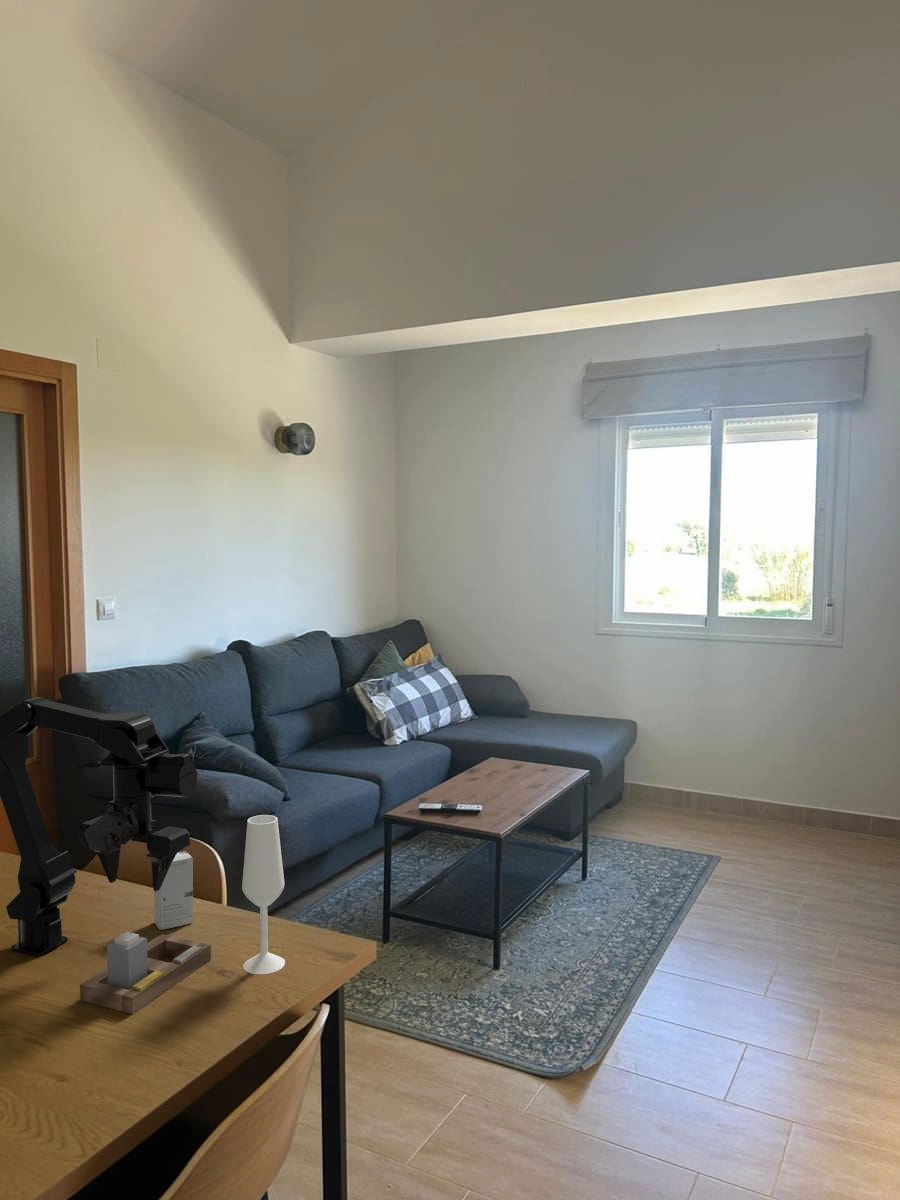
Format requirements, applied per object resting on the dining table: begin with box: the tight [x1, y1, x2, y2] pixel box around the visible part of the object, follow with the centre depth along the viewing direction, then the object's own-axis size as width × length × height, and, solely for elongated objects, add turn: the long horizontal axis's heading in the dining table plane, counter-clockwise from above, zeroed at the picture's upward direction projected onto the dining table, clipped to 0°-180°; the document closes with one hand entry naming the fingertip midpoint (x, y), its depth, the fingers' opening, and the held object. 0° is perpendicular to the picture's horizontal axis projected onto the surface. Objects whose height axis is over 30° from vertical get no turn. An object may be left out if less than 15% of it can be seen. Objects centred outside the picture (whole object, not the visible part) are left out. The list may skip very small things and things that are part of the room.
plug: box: [106, 931, 148, 990], centre depth 133 cm, size 4×4×9 cm
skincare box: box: [153, 851, 194, 931], centre depth 157 cm, size 6×4×12 cm
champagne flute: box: [241, 814, 286, 975], centre depth 141 cm, size 7×7×24 cm
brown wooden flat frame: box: [79, 934, 212, 1015], centre depth 137 cm, size 10×18×3 cm, turn 158°
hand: (134, 886), depth 144 cm, fingers open, 9 cm apart
